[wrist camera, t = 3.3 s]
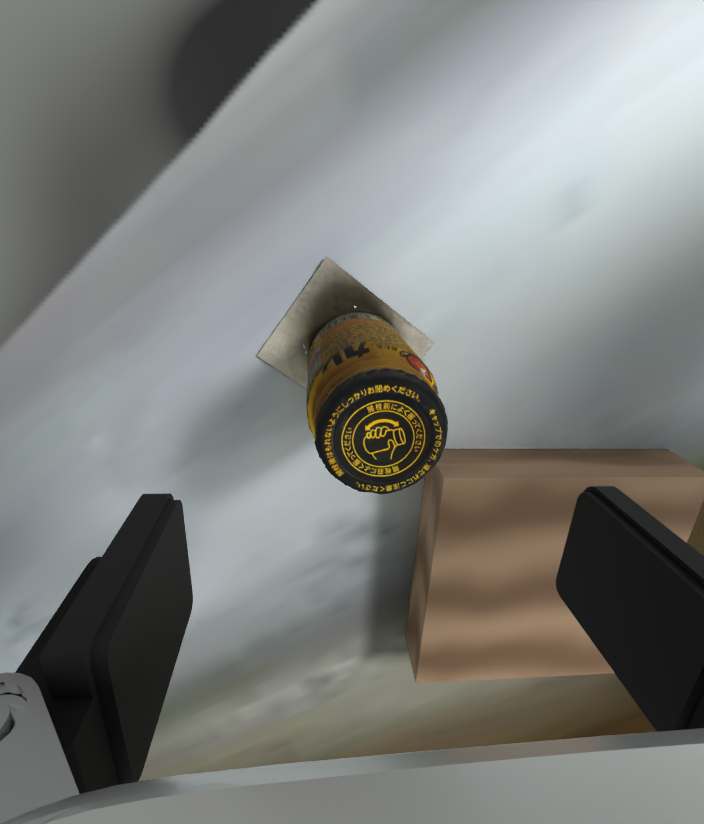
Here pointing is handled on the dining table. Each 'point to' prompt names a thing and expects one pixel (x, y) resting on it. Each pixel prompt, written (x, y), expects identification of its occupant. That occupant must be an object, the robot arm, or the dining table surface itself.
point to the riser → (520, 555)
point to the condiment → (361, 383)
